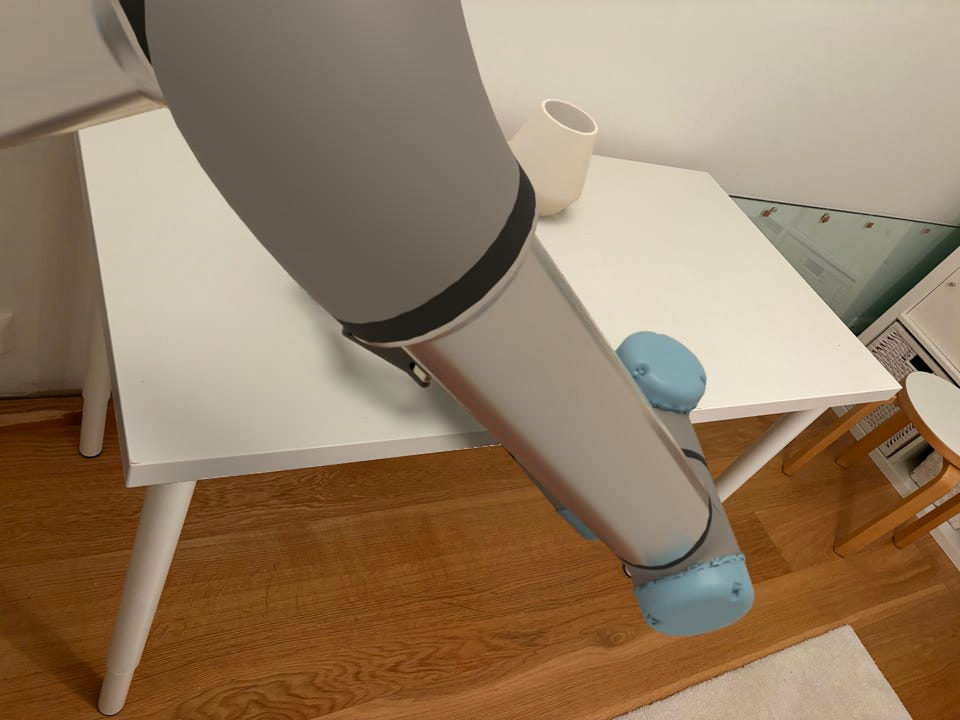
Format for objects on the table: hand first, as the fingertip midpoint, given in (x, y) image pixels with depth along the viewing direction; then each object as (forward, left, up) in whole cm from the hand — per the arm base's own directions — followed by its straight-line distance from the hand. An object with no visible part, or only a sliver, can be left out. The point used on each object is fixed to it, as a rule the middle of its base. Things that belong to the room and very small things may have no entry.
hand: (381, 252), depth 77 cm
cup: (-1, +39, -6) cm, 40 cm away
